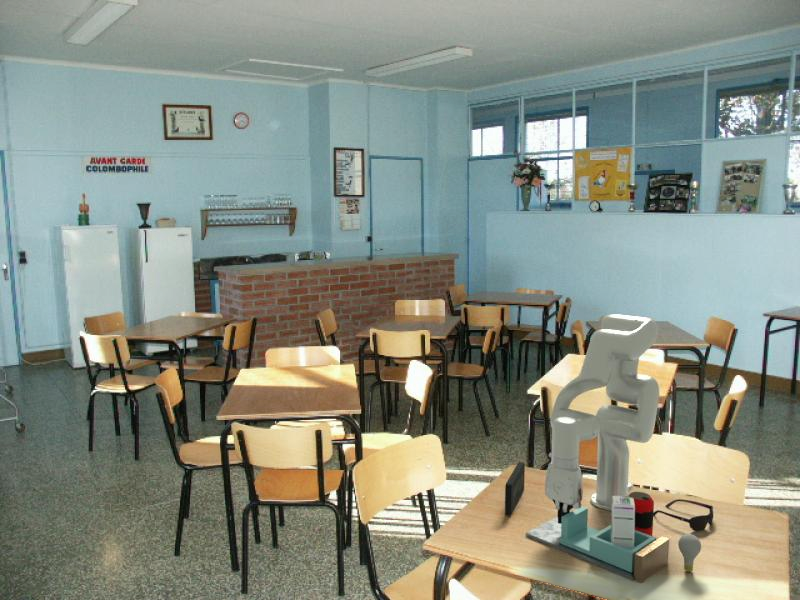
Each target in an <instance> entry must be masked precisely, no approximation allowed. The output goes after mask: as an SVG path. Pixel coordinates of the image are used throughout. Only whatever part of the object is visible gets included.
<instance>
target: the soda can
mask: <svg viewBox="0 0 800 600" xmlns="http://www.w3.org/2000/svg"><path fill="white" fill-rule="evenodd" d="M628 497H633V499H634V504H635V530H636V531H639V532H642V533H645V534H647V535H650V536H653V531H654V529H653V528H654V515H653V513H654V512H655V511H654V507H655V502H654V499H653V498H652V497H651V495H650V494H648V493H646V492H643V491H632V492H631V493H630V492H629V494H628Z"/></svg>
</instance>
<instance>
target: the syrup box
mask: <svg viewBox="0 0 800 600" xmlns="http://www.w3.org/2000/svg"><path fill="white" fill-rule="evenodd" d="M610 515H611V521H610V523H611V524H610V525H611V543H613V544H616V545H618V546H621V547H623V548H626V549H628V550H632V549H633V548H634V532H635V504H634V499H633V497H627V496H612V511H611V514H610Z"/></svg>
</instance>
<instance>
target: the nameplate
mask: <svg viewBox="0 0 800 600" xmlns="http://www.w3.org/2000/svg"><path fill="white" fill-rule="evenodd" d="M525 465H526V463H525V462H523V461H522V462H521V461H517V463H516V465H515V467H514V469H513V471H512V473H511V474H510V476H509V478H508V480H507V481H506V482H505V487H504V489H505V490H504V499H505V500H504V514H506V516H513V513H514V511H515V509H516V508H517V505H518V503H519V501H520V499H521V497H522V495H523V493H524V492H525V476H526V475H525V472H526V471H525V469H526V466H525Z"/></svg>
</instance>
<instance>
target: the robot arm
mask: <svg viewBox="0 0 800 600" xmlns="http://www.w3.org/2000/svg"><path fill="white" fill-rule="evenodd" d="M600 324H601V325H600V328H601V329H598V330H596V331H594V332H593V334H592V335H591V338H590V340H589V344H588V348H587V351H586V354H585V357H584V360H583V362H582V367H581V369H580V372H579V374H578V375H577V376H576V377H574V378H573V379H572V380H570V381H569V382H568V383H567V384H566V385H565V386H563V388H562V389H561V390H560V392H559V393H558V395H557V396H556V399H555V402H554V405H553V407H552V411H551V415H550V427H551V429H552V433H551V434H552V435H551V452H549V454H548V457H549V458H550V460H551V462H549V463H548V465H547V466H548V467H547V470H546V475H545V484H544V493H545V495H546V497H547V499H549V500H551V501H552V502H553V503H554V505H555V509H556V510H557V517H558V523H559V524H561V521H562V516H564V515H566V514H568V513H570V512H571V510H572V509H574V510H575V509H579V508H581V506H582V502H581V501H583V495H584V494H583V493H584V490H583V489H584V486H583V475H582V470H581V467H580V443H581V442H586V441H587V442H588V441H591V440H593V439H595V438H597V456H596V457H597V458H596V459H597V460H596V461H597V462H596V463H597V464H596V491H595V493H593V494H592V495H590V502H591V504H592V505H593V506H595V507H597V508H600V509H601V510H605V511H611V512H612V496H627V497H628V496H629V494H630V492H631V491H633V490H634V486H633V485H632V484H629V471H630V469H629V467H630V449H629V446H628V442H627V441H631V442H636V443H641V444H646V443H648V442H650V440H651V439H652V436H653V434H654V429H655V424H656V420H657V419H656V418H657V412H658V406H659V399H660V387H659V383H658V381H657V379H656V378H654V377H653V376H650V375H647V374H641V373H640V374H639V373H638V370H639V369H638V368H639V363H640V362H639V361H640V357H642V356H643V355H644V354H645V353H646V352H647V351H648V350H649V349H650V348H652V346H653V345H654V344H655V342H656V340H657V339H658V336H659V326H658V323H657V322H656V321H655V320H654V319H652V318H649V317H644V316H643V317H642V316H636V315H635V316H634V315H626V314H625V315H624V314H618V313H617V314H616V313H615V314H607V315H605V316H603V318H602V319H601V323H600ZM604 387H605V394H606V397H607V398H608V399H610V400H612V401H614V402H620V403H623V404H628V405H634V406H636V407H637V409H633V408H628V407H624V406H620V405H619V406H618V405H614V404H605V405H603V406H601V407H599V408H598V410H596V414H592V413H588V412H582V411H579V410H576V409H570V406H571V404H572V402H573V401H574V400H575V399H576V398H577V397H578V396H579V395H582V394H583V393H586V392H589V391H590V392H591V391H593V390H598V389H601V388H604ZM626 440H627V441H626Z"/></svg>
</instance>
